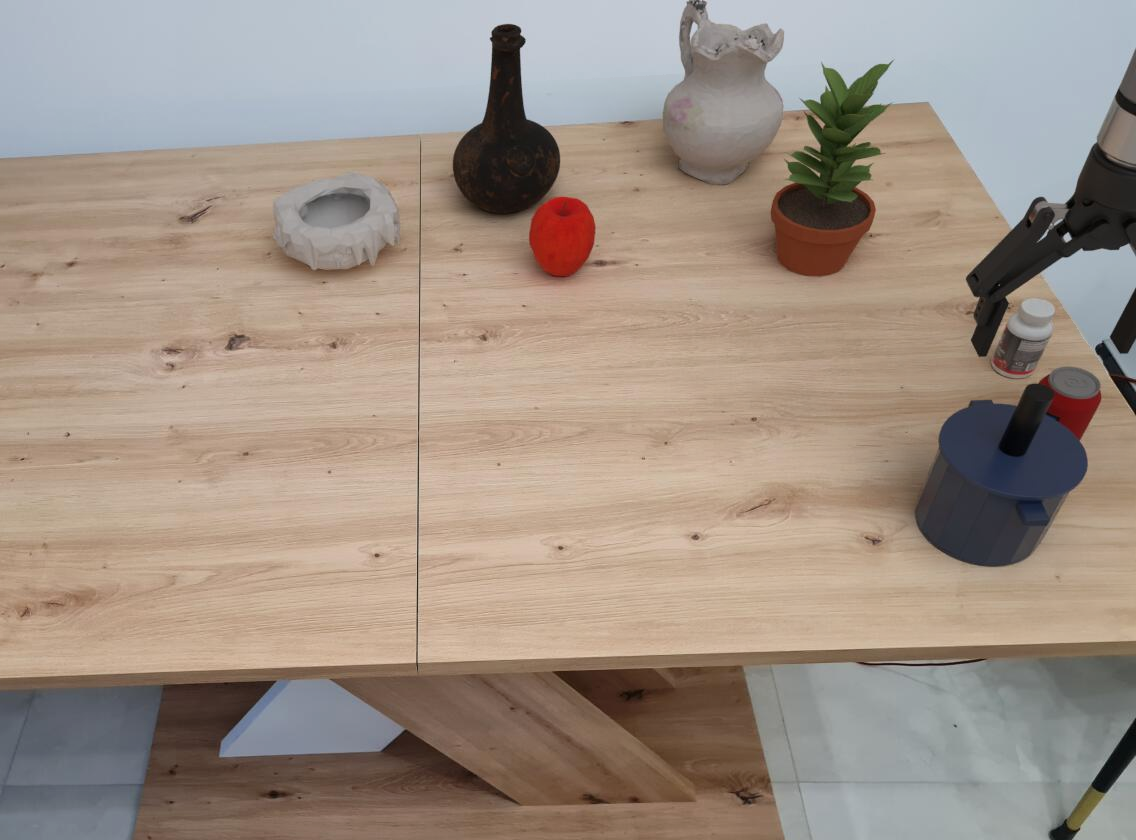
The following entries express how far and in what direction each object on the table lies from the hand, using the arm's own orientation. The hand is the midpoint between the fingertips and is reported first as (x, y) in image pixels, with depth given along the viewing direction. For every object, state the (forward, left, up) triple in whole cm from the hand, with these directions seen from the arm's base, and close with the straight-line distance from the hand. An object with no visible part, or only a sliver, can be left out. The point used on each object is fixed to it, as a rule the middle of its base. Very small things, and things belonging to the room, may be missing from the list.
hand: (1047, 347), depth 107 cm
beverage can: (-11, -9, -25) cm, 28 cm away
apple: (+46, -52, -25) cm, 74 cm away
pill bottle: (-13, -26, -25) cm, 38 cm away
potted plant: (+8, -53, -25) cm, 59 cm away
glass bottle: (+54, -74, -25) cm, 95 cm away
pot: (0, +2, -24) cm, 24 cm away
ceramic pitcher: (+19, -83, -25) cm, 89 cm away
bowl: (+81, -59, -25) cm, 103 cm away
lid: (0, +2, -13) cm, 13 cm away
